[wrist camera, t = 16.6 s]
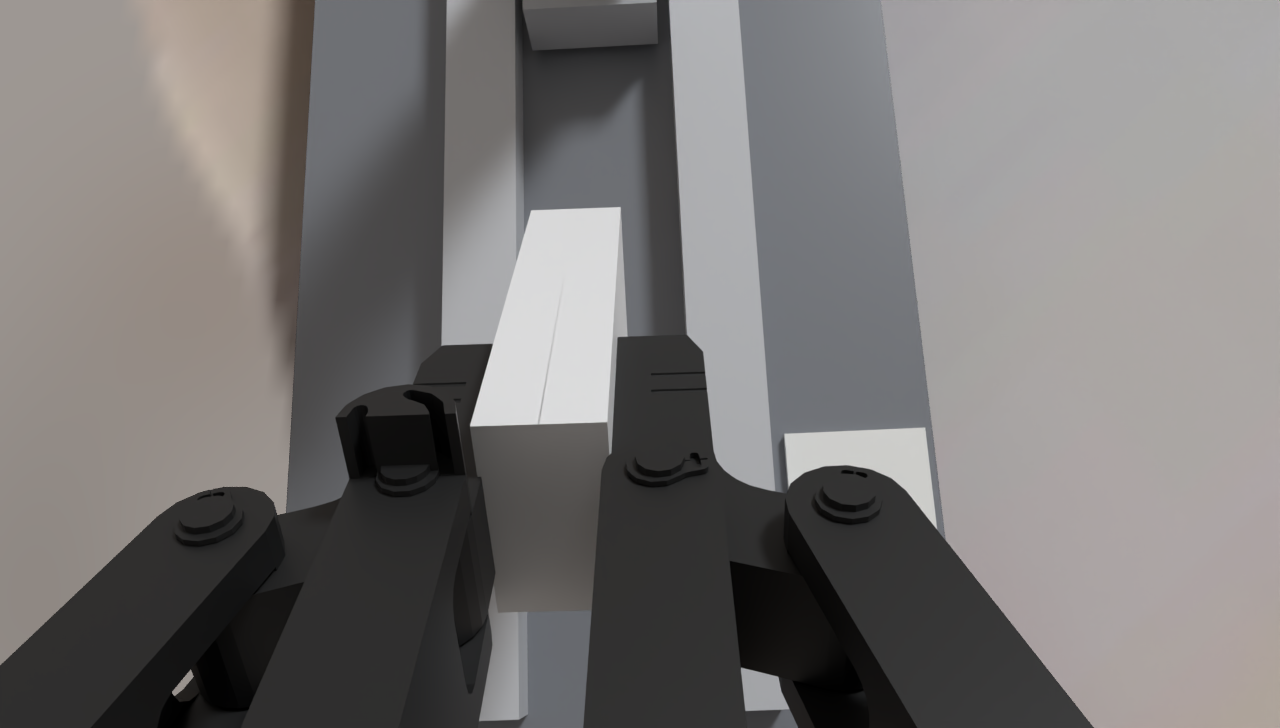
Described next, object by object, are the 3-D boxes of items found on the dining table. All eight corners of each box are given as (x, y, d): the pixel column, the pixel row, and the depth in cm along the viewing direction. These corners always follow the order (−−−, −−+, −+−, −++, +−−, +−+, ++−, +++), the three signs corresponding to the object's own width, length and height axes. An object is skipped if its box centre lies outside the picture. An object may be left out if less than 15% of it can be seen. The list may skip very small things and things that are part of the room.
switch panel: (932, 734, 22) (990, 758, 18) (322, 758, 23) (245, 786, 19) (829, -194, 29) (854, -327, 25) (363, -166, 29) (313, -293, 25)
